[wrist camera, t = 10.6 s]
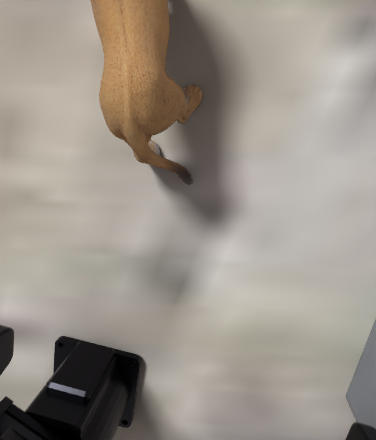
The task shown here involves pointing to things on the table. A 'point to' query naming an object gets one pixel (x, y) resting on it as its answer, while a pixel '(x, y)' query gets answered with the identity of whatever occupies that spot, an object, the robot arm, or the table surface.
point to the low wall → (365, 384)
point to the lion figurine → (140, 77)
